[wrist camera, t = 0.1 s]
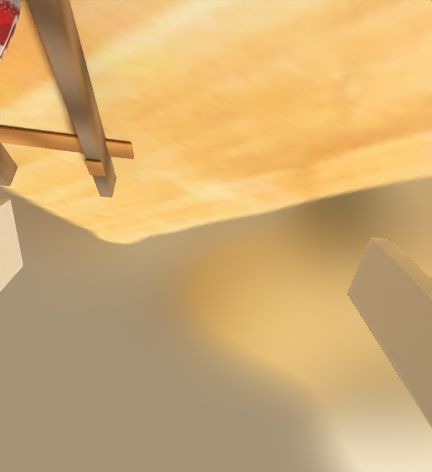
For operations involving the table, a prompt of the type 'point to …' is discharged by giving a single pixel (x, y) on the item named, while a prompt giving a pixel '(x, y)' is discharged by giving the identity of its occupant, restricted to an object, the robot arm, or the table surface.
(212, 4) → the table surface
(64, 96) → the walnut track
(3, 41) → the soda can
